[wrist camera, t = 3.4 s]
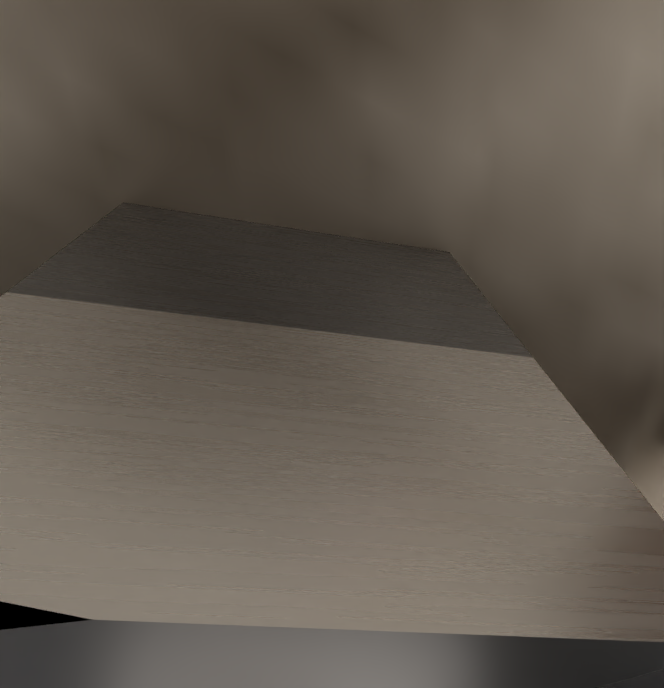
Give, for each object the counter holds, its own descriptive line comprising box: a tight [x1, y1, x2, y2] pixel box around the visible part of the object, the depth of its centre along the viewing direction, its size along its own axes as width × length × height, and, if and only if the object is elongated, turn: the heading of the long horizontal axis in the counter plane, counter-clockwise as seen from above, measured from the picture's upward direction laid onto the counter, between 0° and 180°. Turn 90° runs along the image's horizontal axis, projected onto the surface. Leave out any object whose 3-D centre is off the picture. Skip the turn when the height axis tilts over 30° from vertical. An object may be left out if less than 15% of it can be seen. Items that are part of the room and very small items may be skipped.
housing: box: [0, 203, 664, 688], centre depth 6 cm, size 5×8×7 cm, turn 170°
